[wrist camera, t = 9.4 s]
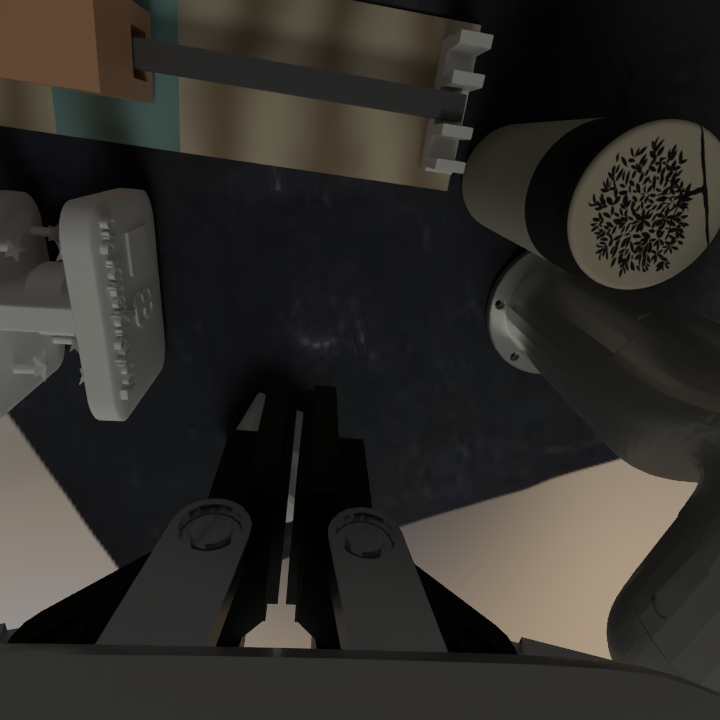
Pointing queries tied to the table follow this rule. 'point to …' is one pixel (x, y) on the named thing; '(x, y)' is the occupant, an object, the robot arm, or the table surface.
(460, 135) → the cable comb
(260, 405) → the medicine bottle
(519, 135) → the travel mug
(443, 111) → the dark grey bar
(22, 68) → the brown rectangular block
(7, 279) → the cable organizer
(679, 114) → the table surface
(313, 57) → the board
